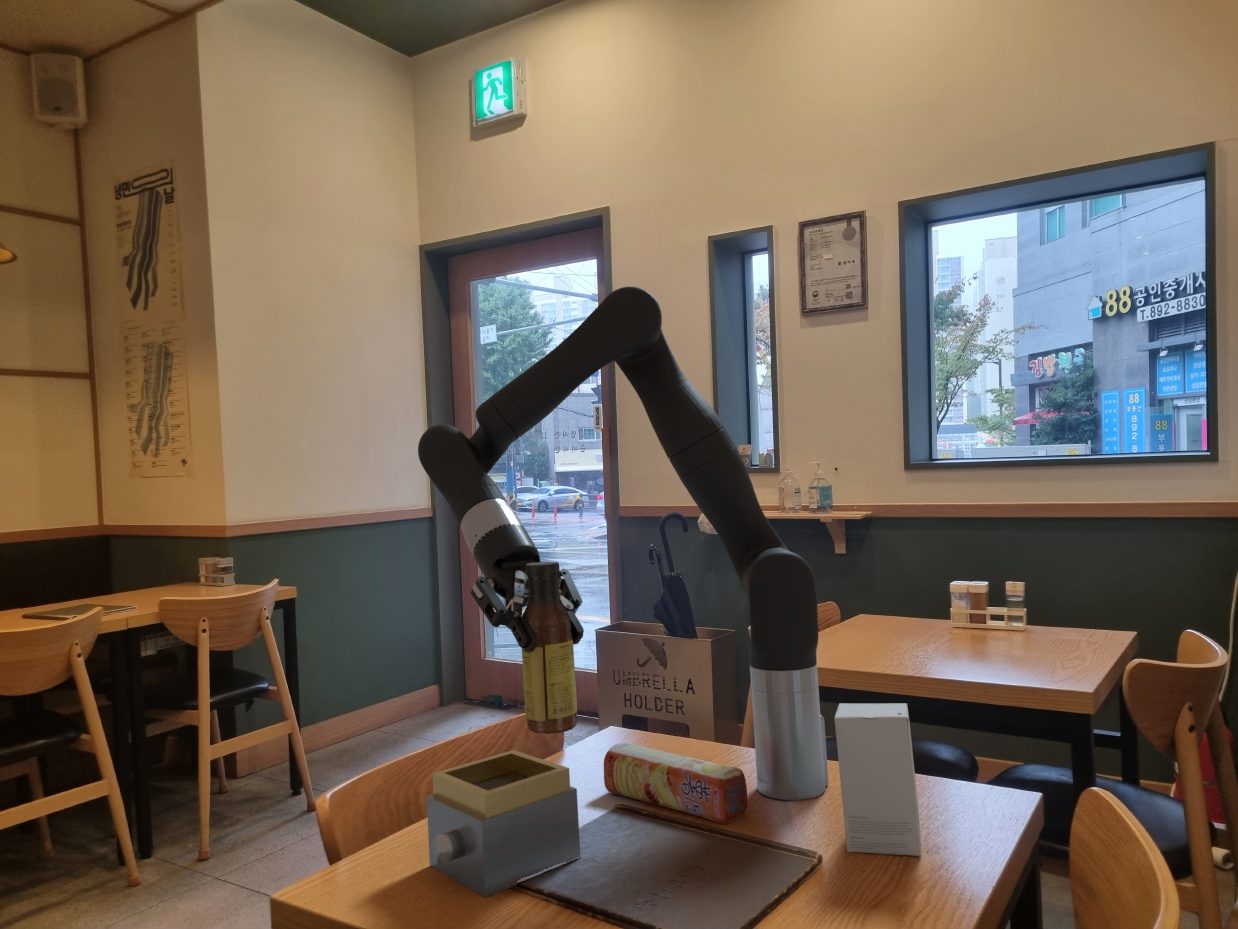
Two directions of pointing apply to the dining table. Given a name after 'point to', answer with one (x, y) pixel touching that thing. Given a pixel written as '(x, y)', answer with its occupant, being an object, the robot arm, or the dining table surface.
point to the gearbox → (501, 820)
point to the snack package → (676, 782)
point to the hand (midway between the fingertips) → (556, 643)
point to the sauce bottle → (548, 655)
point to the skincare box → (877, 779)
